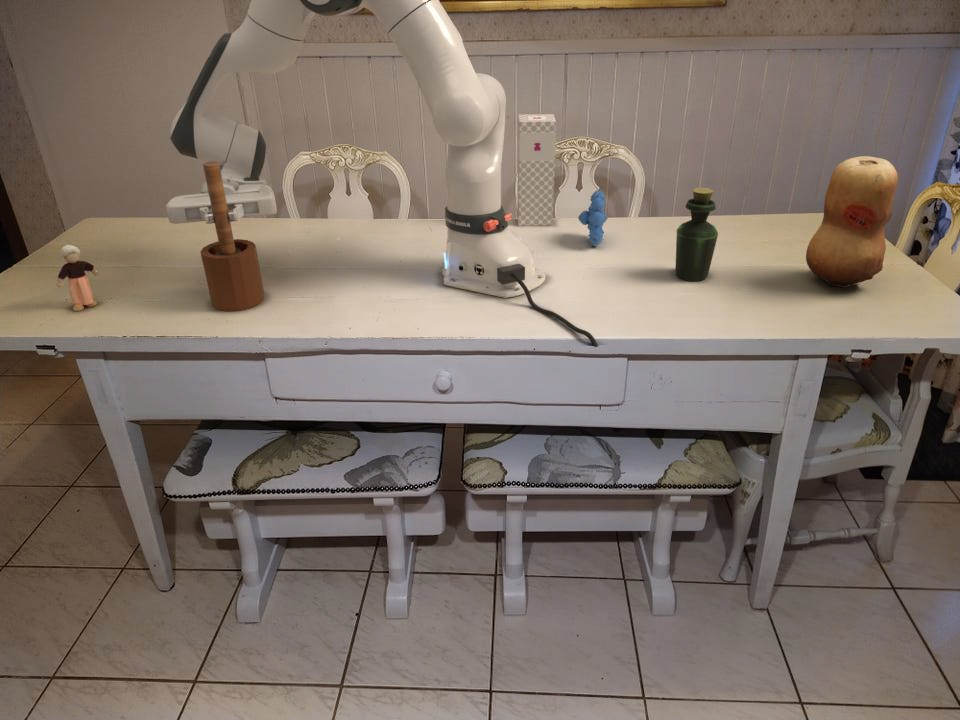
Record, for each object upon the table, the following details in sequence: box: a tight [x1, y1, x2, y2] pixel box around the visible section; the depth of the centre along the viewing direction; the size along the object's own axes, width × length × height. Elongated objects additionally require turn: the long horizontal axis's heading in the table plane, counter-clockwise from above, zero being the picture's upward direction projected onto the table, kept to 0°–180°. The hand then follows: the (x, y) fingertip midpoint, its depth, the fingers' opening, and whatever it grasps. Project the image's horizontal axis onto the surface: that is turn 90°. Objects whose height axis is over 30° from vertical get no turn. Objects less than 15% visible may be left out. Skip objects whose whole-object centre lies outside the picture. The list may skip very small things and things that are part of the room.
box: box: [516, 113, 557, 227], centre depth 178 cm, size 8×8×25 cm
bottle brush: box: [202, 161, 241, 256], centre depth 138 cm, size 5×5×24 cm
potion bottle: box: [675, 187, 719, 282], centre depth 147 cm, size 8×8×18 cm
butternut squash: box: [805, 155, 899, 288], centre depth 141 cm, size 14×13×25 cm
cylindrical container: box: [200, 238, 265, 312], centre depth 142 cm, size 10×10×11 cm
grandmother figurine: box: [56, 244, 99, 312], centre depth 141 cm, size 8×4×13 cm, turn 148°
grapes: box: [577, 189, 608, 247], centre depth 167 cm, size 12×7×12 cm, turn 173°
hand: (221, 218), depth 136 cm, fingers closed on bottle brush, 3 cm apart
